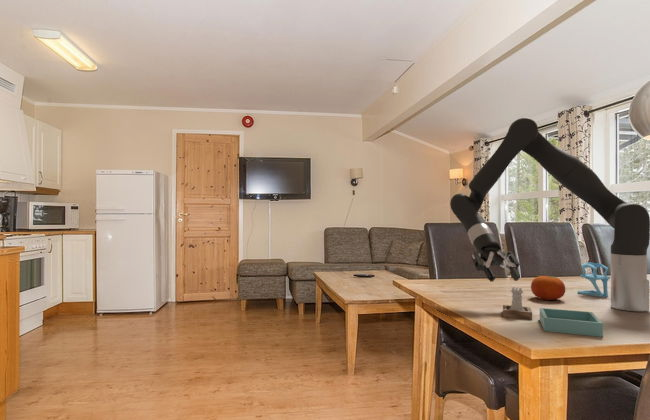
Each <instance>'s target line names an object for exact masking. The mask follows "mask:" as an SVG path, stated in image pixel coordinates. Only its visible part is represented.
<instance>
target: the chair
mask: <svg viewBox="0 0 650 420" xmlns="http://www.w3.org/2000/svg"><path fill="white" fill-rule="evenodd" d="M581 268H582V274H580V278H583V279H586V280H588V281H589V282H590V283H591V284H592V286H593V287H594V289H593V290H592V289H591V290H589V289H587V290H577V292H576V293H577V294H579V295H586V296H592V297H598V298H604V297H605V298H608V297H609V293H608V292H609V291H608V290H609V289H608V281H609V280H611V276H608V271H609V267H607V266H606V265H605V264H602V263H600V262H599V263H598V262H596V263H595V262H591V261H588V262H585V263H583V264H582V265H581ZM586 268H587V269H588V268H590V269H592V273H590V274H586V273H587V271H586ZM598 268H603V269H604V272H603V275H600V274H598V273H597V271H598ZM600 280H601V282H602V289H603V292H602V291H601V289H600V288H599V286H598V283H597V281H600Z"/></svg>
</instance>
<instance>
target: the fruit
mask: <svg viewBox="0 0 650 420" xmlns="http://www.w3.org/2000/svg"><path fill="white" fill-rule="evenodd" d="M530 289H531V293H532V294H533V295H534V297H536V298H538V299H540V300H544V301H545V300H546V301H556V300H559V299H561V298H562V297H564V296H565V293H566V286H565V283H564V282H563V280H562V279H560V278H559V277H555V276H551V275H550V276H549V275H539V276H537V277H535V278H534V279H533V280H532V281H531V283H530Z"/></svg>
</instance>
